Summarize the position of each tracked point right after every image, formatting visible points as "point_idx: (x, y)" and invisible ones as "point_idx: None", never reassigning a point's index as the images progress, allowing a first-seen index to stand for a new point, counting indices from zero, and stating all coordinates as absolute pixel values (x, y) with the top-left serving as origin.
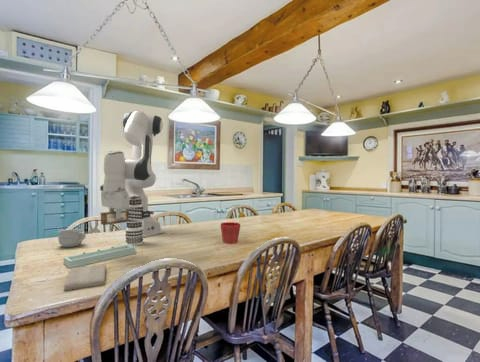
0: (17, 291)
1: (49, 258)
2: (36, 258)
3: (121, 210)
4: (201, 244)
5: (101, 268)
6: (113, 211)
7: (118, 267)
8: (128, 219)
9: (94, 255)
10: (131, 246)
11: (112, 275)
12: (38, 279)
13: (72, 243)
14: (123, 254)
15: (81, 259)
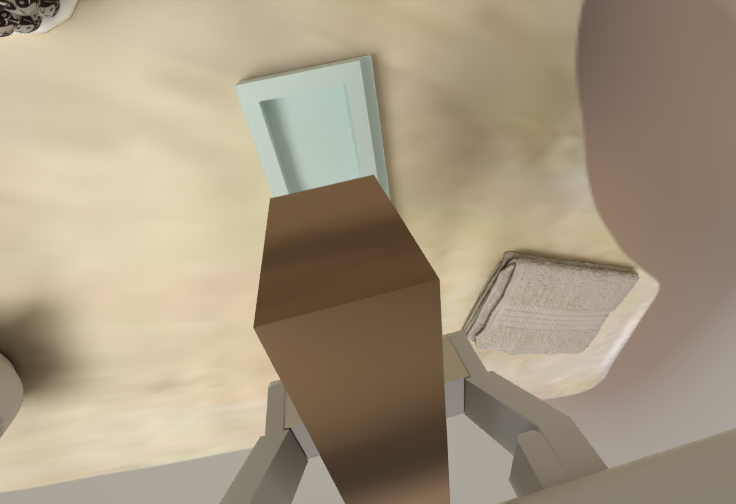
0: None
1: (224, 401)
2: (200, 429)
3: (576, 429)
4: None
5: (557, 279)
6: (275, 476)
7: (531, 209)
8: (381, 189)
9: None
10: (321, 80)
11: (587, 240)
12: None
13: (15, 378)
14: (383, 153)
15: None
